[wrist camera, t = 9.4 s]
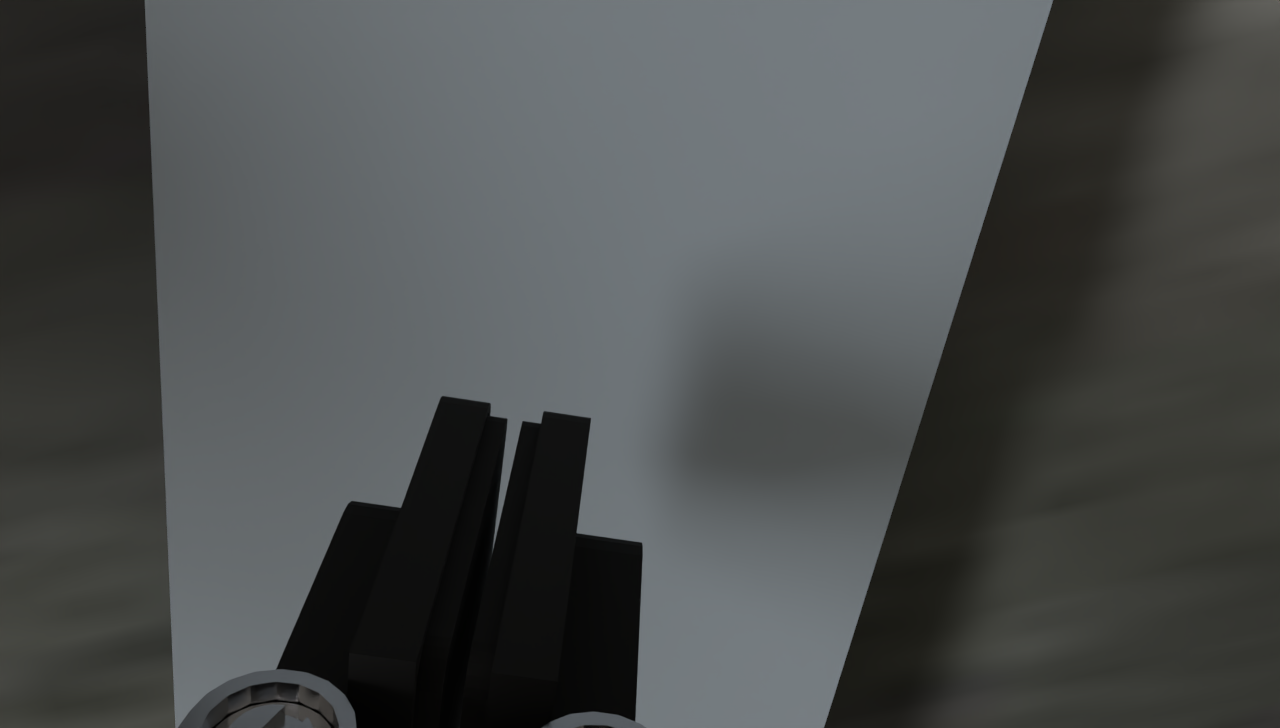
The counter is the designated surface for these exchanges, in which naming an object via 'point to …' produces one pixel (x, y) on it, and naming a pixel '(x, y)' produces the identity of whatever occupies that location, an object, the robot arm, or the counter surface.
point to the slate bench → (569, 293)
